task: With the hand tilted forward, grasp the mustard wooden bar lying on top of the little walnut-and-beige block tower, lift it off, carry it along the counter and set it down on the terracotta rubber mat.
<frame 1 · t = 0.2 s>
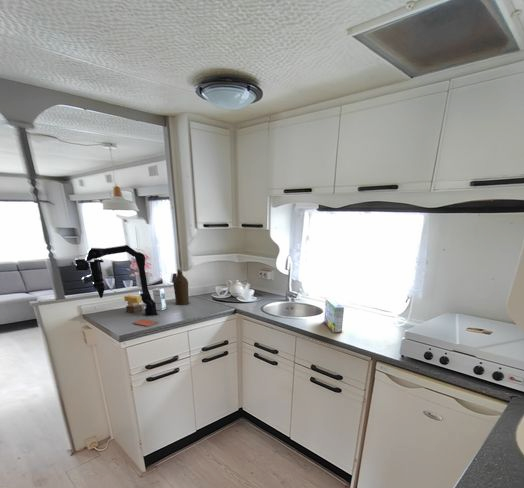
hand: (100, 296, 198), 15 cm above the countertop, tool pointing down, fingers open, 9 cm apart
bar: (133, 301, 219), point 7 cm above the countertop, touching tower
snack box: (332, 327, 196), on the countertop
tower: (134, 311, 222), on the countertop
syrup box: (160, 309, 227), on the countertop
olive oil: (182, 303, 243), on the countertop
mat: (145, 323, 197), on the countertop
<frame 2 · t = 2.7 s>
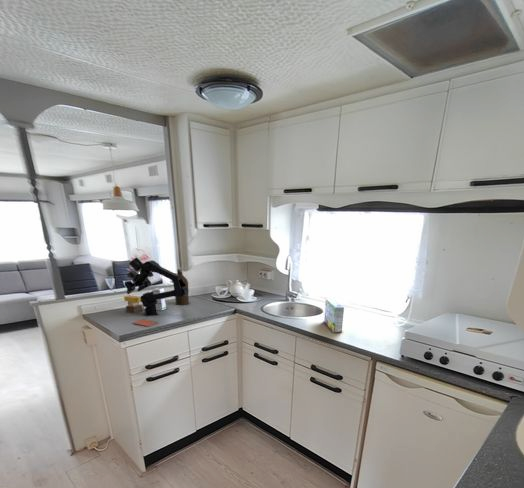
hand: (132, 292, 215), 13 cm above the countertop, tool tilted 45°, fingers open, 9 cm apart
nothing on the countertop moved.
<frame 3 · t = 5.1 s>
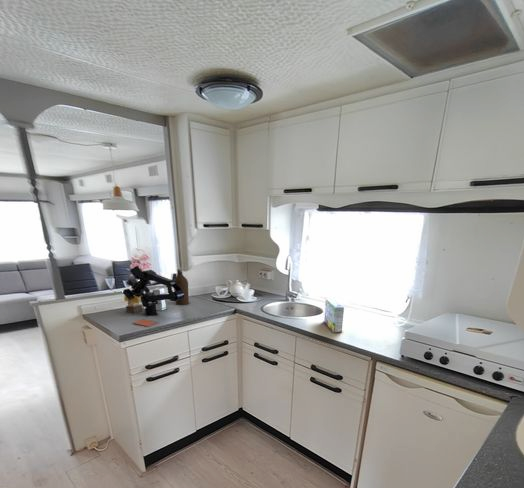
hand: (131, 299, 219), 8 cm above the countertop, tool tilted 45°, fingers closed on bar, 4 cm apart
bar: (133, 301, 219), point 7 cm above the countertop, touching gripper, tower
everything else where it was.
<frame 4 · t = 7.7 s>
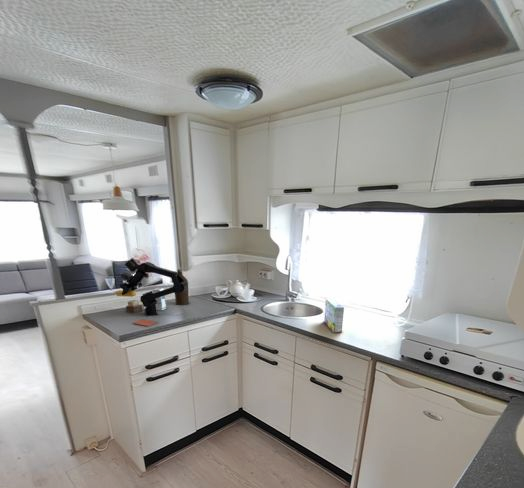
hand: (124, 293, 213), 13 cm above the countertop, tool tilted 45°, fingers closed on bar, 4 cm apart
bar: (126, 295, 213), point 12 cm above the countertop, touching gripper
everything else where it was.
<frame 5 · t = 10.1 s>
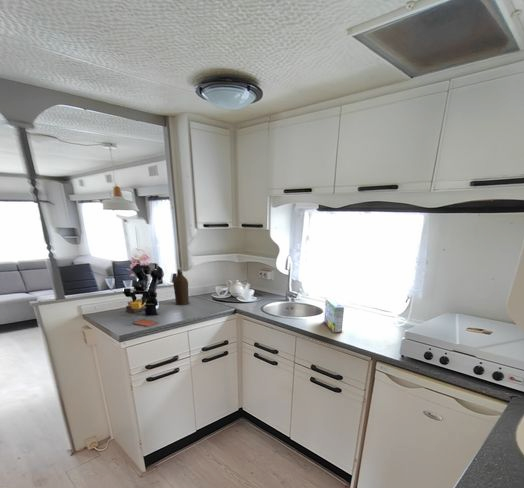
hand: (137, 305, 192), 12 cm above the countertop, tool tilted 45°, fingers closed on bar, 4 cm apart
bar: (138, 306, 193), point 11 cm above the countertop, touching gripper
syrup box: (156, 305, 226), point 3 cm above the countertop
everything else where it was.
when the fingers open (3 cm above the countertop, at t = 13.7 s): bar stays where it is, resting on mat.
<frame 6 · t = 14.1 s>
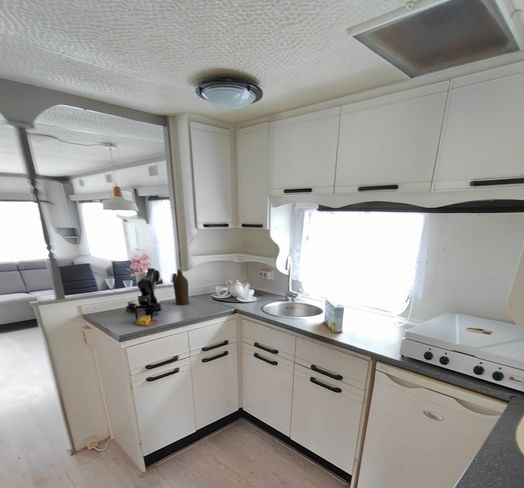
hand: (144, 319, 195), 3 cm above the countertop, tool tilted 45°, fingers open, 8 cm apart
bar: (144, 322, 197), resting on mat
everything else where it was.
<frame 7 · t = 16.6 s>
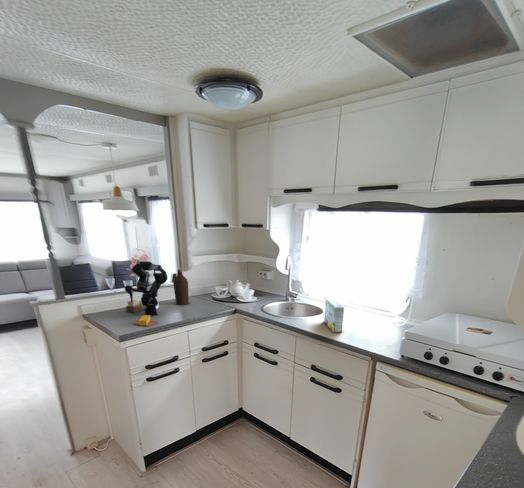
hand: (139, 304, 198), 10 cm above the countertop, tool tilted 35°, fingers open, 9 cm apart
nothing on the countertop moved.
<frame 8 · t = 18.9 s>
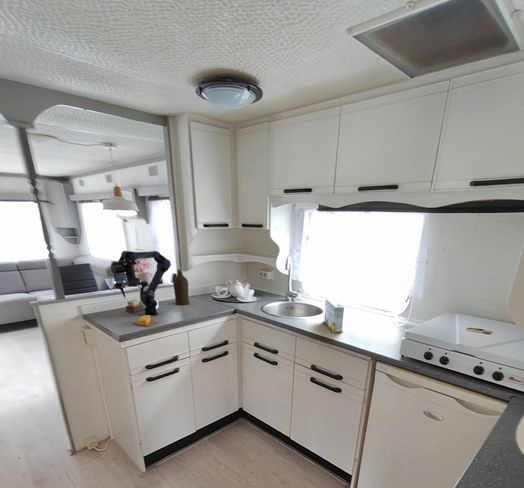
hand: (132, 297, 203), 13 cm above the countertop, tool pointing down, fingers open, 9 cm apart
nothing on the countertop moved.
at the end: bar inside the target area on the mat (0.1 cm from its centre), point 0.5 cm above the mat's base; bar touching mat; bar tilted 0° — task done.
